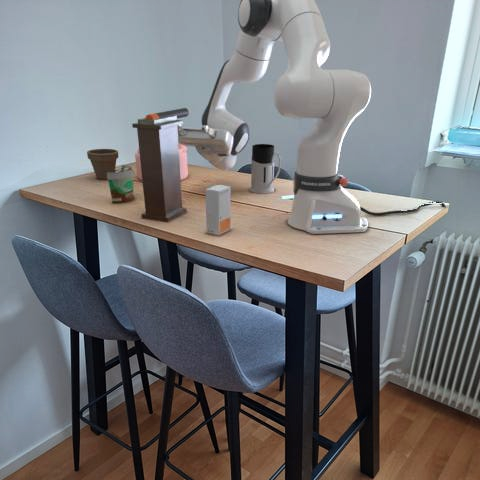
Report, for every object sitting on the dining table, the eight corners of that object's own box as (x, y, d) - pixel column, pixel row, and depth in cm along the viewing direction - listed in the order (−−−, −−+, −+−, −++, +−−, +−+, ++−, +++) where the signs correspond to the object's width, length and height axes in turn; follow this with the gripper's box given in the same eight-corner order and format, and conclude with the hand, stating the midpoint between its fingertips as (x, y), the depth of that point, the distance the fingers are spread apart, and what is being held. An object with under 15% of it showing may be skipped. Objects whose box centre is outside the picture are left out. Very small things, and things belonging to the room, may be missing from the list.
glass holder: (264, 185, 172) (266, 142, 165) (289, 194, 162) (291, 149, 154) (245, 189, 168) (245, 145, 160) (268, 198, 158) (270, 151, 150)
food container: (128, 205, 150) (124, 173, 145) (110, 204, 151) (106, 172, 146) (142, 195, 160) (139, 165, 155) (126, 194, 161) (122, 164, 156)
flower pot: (126, 175, 186) (123, 148, 181) (113, 182, 177) (109, 154, 172) (99, 173, 189) (95, 147, 184) (85, 180, 179) (81, 152, 174)
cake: (142, 171, 192) (139, 134, 185) (191, 171, 192) (189, 134, 185) (132, 183, 175) (128, 143, 168) (186, 183, 175) (183, 143, 168)
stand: (163, 207, 148) (155, 114, 134) (187, 211, 145) (182, 115, 131) (141, 218, 139) (131, 118, 125) (167, 222, 135) (159, 120, 122)
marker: (180, 113, 140) (183, 106, 138) (187, 118, 140) (189, 110, 138) (144, 121, 125) (147, 112, 123) (151, 126, 125) (154, 117, 123)
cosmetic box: (219, 236, 125) (218, 191, 119) (206, 233, 127) (204, 188, 121) (231, 229, 130) (231, 186, 124) (218, 227, 132) (217, 184, 126)
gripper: (184, 133, 161) (163, 115, 148) (238, 137, 153) (221, 118, 141) (180, 151, 161) (159, 134, 148) (234, 156, 154) (217, 139, 141)
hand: (190, 126), depth 144 cm, fingers open, 8 cm apart
